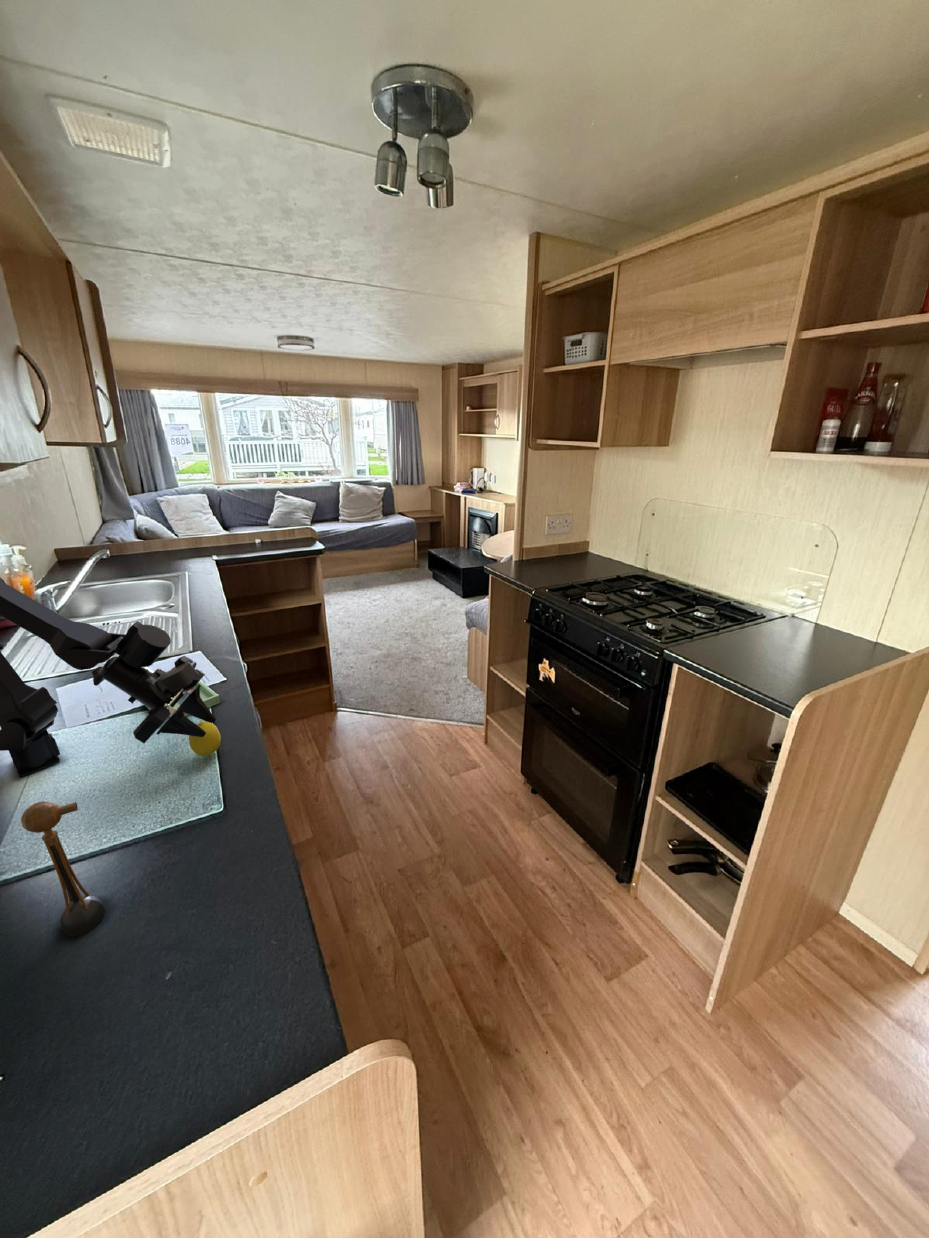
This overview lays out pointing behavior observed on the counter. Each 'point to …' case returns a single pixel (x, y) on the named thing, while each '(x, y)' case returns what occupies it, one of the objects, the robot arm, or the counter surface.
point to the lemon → (206, 740)
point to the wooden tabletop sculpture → (64, 868)
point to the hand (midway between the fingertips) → (209, 728)
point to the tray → (203, 697)
